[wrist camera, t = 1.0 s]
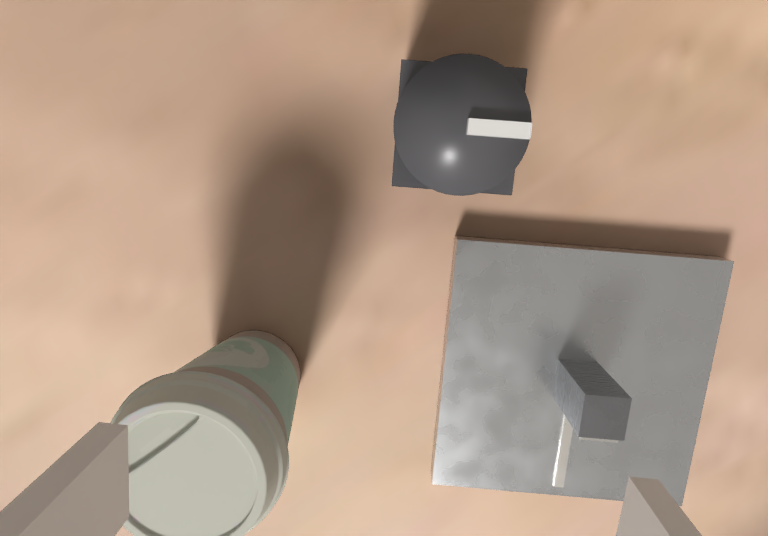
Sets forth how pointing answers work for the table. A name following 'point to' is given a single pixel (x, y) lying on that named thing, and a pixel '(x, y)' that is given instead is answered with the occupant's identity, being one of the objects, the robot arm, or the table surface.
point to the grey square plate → (574, 366)
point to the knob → (460, 125)
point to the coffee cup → (211, 439)
